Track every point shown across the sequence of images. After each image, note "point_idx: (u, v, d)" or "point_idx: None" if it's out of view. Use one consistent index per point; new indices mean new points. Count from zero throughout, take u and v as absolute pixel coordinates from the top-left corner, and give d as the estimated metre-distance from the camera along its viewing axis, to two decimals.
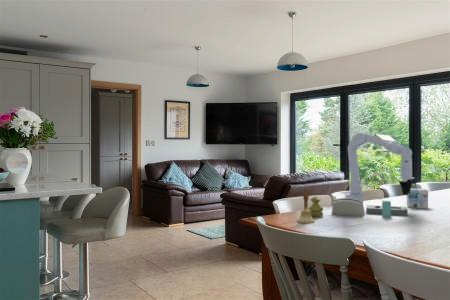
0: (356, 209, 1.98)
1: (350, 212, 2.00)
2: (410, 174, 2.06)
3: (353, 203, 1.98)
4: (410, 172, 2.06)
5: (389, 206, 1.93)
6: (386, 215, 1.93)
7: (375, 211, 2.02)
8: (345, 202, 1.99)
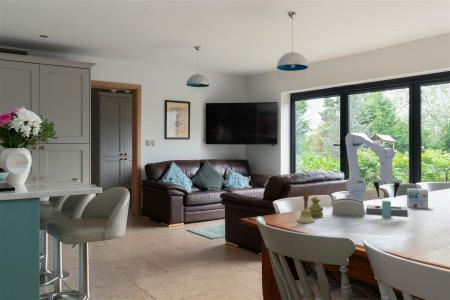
0: (357, 209, 1.98)
1: (351, 213, 2.00)
2: (383, 176, 1.96)
3: (354, 203, 1.98)
4: (383, 174, 1.96)
5: (389, 206, 1.93)
6: (386, 215, 1.93)
7: (375, 211, 2.02)
8: (346, 202, 1.99)
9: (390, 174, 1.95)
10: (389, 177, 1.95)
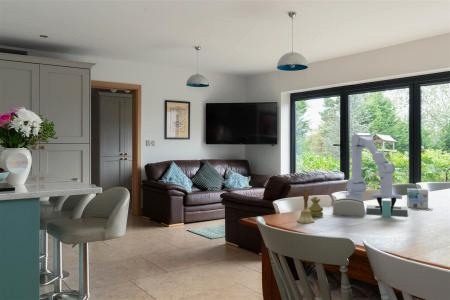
0: (357, 209, 1.98)
1: (351, 213, 2.00)
2: (383, 191, 1.93)
3: (354, 203, 1.97)
4: (382, 189, 1.93)
5: (389, 206, 1.93)
6: (386, 215, 1.93)
7: (375, 211, 2.02)
8: (346, 202, 1.99)
9: (390, 189, 1.92)
10: (389, 192, 1.92)
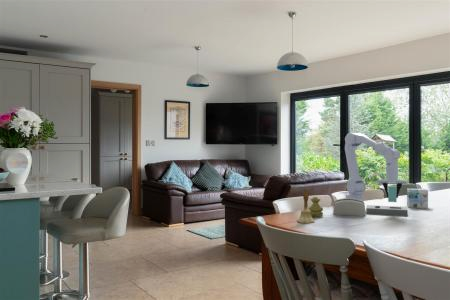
0: (358, 209, 1.98)
1: (352, 213, 2.00)
2: (388, 177, 1.99)
3: (355, 203, 1.97)
4: (388, 175, 1.99)
5: (395, 191, 1.98)
6: (392, 200, 1.98)
7: (375, 211, 2.02)
8: (347, 202, 1.98)
9: (396, 175, 1.98)
10: (395, 178, 1.98)
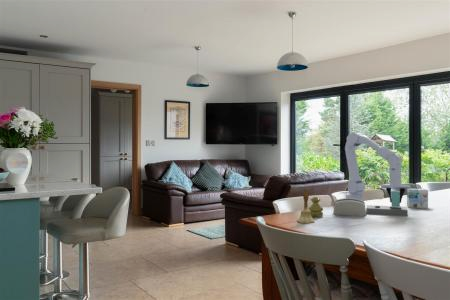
0: (358, 209, 1.98)
1: (352, 213, 1.99)
2: (392, 182, 2.02)
3: (356, 203, 1.97)
4: (392, 180, 2.02)
5: (398, 196, 2.01)
6: (395, 205, 2.01)
7: (375, 211, 2.02)
8: (347, 202, 1.98)
9: (399, 180, 2.01)
10: (398, 183, 2.00)
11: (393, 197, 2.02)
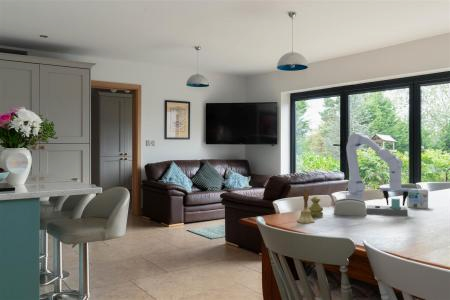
0: (359, 209, 1.98)
1: (353, 213, 1.99)
2: (392, 185, 2.02)
3: (356, 203, 1.97)
4: (392, 183, 2.02)
5: (398, 204, 2.01)
6: None
7: (375, 211, 2.02)
8: (348, 202, 1.98)
9: (399, 183, 2.01)
10: (398, 186, 2.00)
11: (393, 205, 2.02)
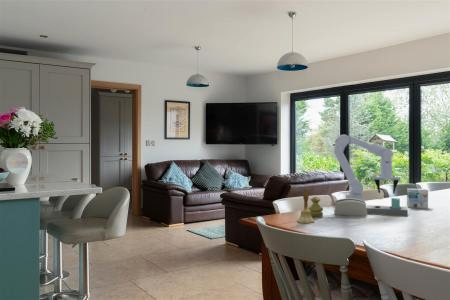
0: (359, 209, 1.98)
1: (353, 213, 1.99)
2: (383, 174, 2.15)
3: (357, 203, 1.97)
4: (383, 172, 2.15)
5: (398, 204, 2.01)
6: None
7: (375, 211, 2.02)
8: (349, 202, 1.98)
9: (390, 172, 2.14)
10: (389, 175, 2.14)
11: (393, 205, 2.02)
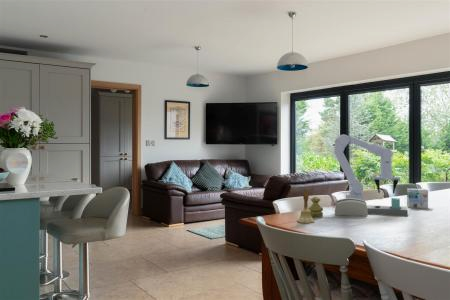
0: (360, 209, 1.97)
1: (354, 213, 1.99)
2: (383, 174, 2.16)
3: (358, 203, 1.97)
4: (383, 172, 2.16)
5: (398, 204, 2.01)
6: None
7: (375, 211, 2.02)
8: (349, 202, 1.97)
9: (389, 172, 2.14)
10: (388, 175, 2.14)
11: (393, 205, 2.02)
